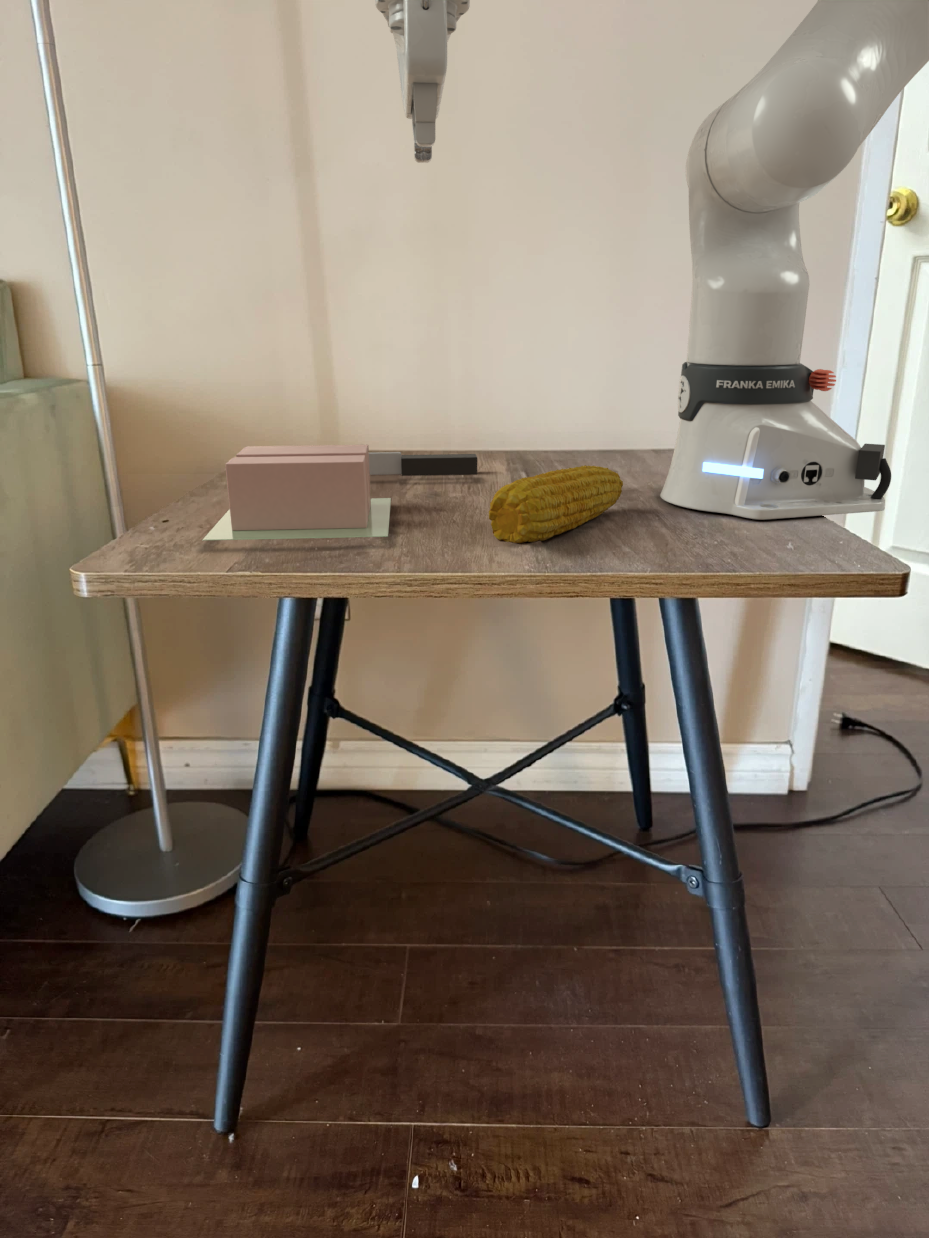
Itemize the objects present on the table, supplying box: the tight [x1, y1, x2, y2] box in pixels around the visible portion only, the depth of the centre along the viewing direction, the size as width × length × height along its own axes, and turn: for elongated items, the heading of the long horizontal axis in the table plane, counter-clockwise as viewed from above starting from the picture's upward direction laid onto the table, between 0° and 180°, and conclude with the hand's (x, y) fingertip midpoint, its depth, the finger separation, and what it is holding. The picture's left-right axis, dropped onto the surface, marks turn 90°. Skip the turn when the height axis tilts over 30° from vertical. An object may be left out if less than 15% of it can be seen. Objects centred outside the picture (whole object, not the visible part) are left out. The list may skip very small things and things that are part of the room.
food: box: [488, 464, 624, 544], centre depth 80 cm, size 21×6×6 cm, turn 148°
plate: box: [202, 497, 392, 541], centre depth 82 cm, size 16×16×1 cm
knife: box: [369, 451, 478, 477], centre depth 102 cm, size 23×3×4 cm, turn 94°
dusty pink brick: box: [224, 455, 368, 531], centre depth 78 cm, size 12×4×6 cm, turn 94°
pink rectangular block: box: [235, 444, 372, 515], centre depth 83 cm, size 12×5×6 cm, turn 94°
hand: (424, 154), depth 84 cm, fingers open, 8 cm apart
